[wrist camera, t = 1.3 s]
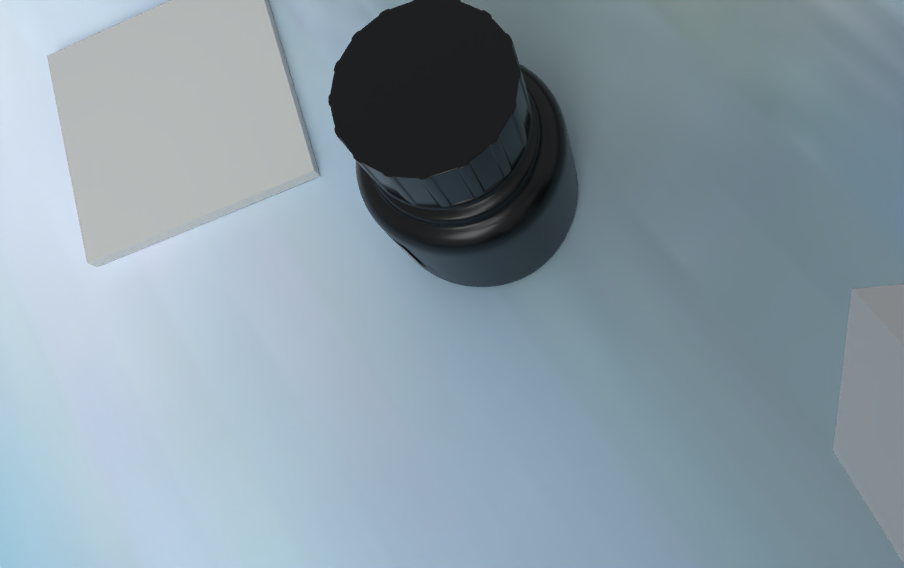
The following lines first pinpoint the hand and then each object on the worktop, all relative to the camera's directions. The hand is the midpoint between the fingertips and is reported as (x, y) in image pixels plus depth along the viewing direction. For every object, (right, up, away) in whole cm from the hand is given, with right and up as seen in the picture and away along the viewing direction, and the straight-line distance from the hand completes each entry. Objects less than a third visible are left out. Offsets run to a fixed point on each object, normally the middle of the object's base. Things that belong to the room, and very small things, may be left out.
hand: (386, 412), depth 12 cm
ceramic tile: (-14, +11, +33) cm, 37 cm away
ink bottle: (+3, +6, +28) cm, 29 cm away
